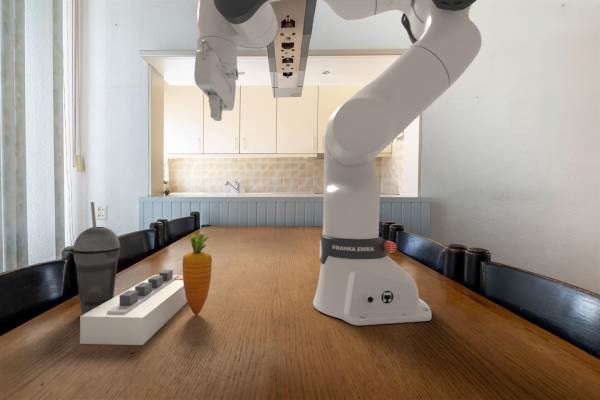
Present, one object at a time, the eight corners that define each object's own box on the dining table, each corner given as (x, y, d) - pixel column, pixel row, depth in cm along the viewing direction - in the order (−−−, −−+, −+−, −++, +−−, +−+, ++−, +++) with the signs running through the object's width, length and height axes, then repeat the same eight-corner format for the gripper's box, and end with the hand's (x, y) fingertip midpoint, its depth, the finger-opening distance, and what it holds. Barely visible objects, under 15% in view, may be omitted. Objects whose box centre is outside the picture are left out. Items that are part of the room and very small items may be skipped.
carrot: (182, 311, 56) (184, 230, 55) (210, 308, 57) (211, 230, 57) (180, 322, 51) (181, 234, 51) (211, 319, 52) (212, 233, 52)
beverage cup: (96, 323, 50) (97, 203, 49) (60, 318, 51) (61, 202, 51) (129, 307, 57) (130, 202, 56) (97, 303, 58) (98, 201, 58)
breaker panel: (195, 294, 65) (195, 266, 65) (142, 345, 43) (143, 303, 43) (154, 293, 65) (154, 265, 65) (80, 343, 43) (80, 302, 43)
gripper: (218, 35, 59) (217, 106, 59) (239, 76, 79) (238, 129, 79) (186, 34, 59) (185, 105, 59) (215, 76, 79) (214, 128, 79)
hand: (216, 119), depth 69 cm, fingers closed
